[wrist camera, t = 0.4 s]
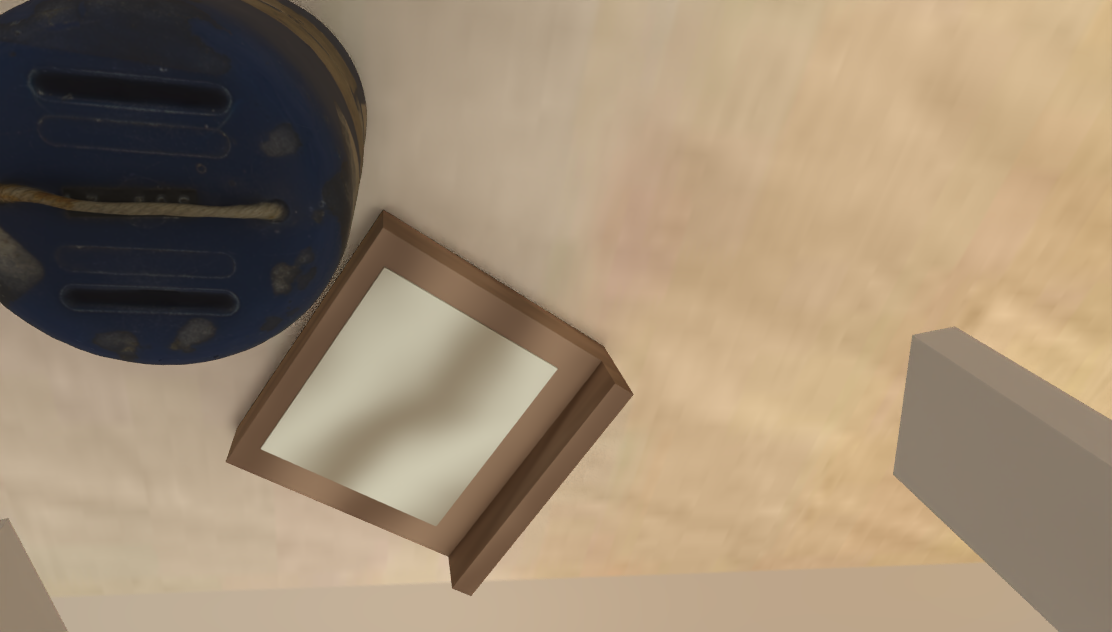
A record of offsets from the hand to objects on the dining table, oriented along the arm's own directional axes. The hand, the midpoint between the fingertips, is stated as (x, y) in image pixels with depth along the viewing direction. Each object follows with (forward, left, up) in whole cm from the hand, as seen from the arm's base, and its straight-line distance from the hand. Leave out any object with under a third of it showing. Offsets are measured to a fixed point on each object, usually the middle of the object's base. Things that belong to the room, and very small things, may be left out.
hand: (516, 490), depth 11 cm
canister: (-7, -3, -27) cm, 28 cm away
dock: (+7, -11, -26) cm, 29 cm away
